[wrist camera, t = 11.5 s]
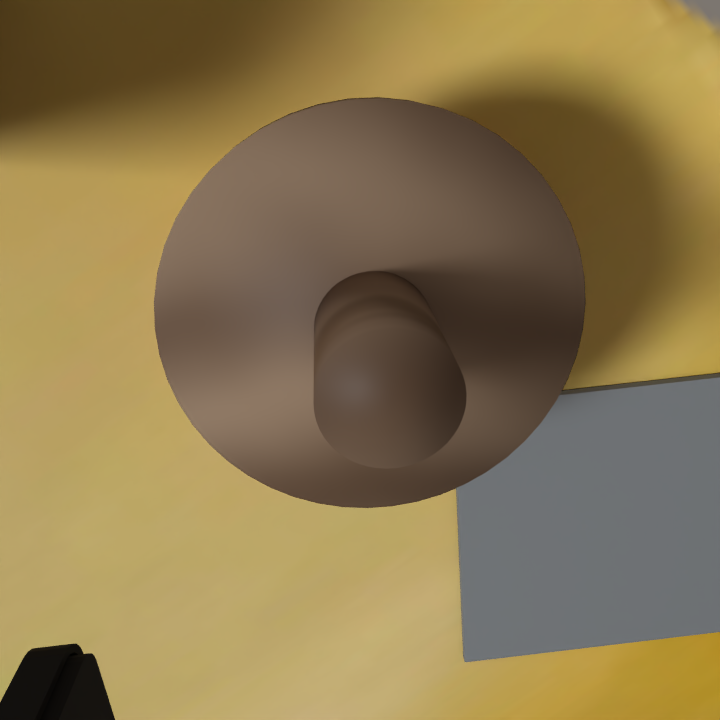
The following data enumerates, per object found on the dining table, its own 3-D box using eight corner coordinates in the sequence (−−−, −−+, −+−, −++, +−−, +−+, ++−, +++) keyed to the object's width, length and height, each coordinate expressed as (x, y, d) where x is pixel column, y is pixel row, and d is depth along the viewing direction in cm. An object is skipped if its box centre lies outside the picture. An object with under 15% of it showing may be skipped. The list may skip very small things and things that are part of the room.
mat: (743, 622, 36) (747, 628, 35) (463, 656, 35) (464, 662, 35) (788, 365, 30) (794, 369, 29) (452, 402, 29) (454, 407, 29)
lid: (569, 467, 24) (646, 584, 18) (206, 512, 24) (173, 645, 18) (578, 71, 19) (688, 70, 13) (114, 125, 19) (29, 146, 13)
